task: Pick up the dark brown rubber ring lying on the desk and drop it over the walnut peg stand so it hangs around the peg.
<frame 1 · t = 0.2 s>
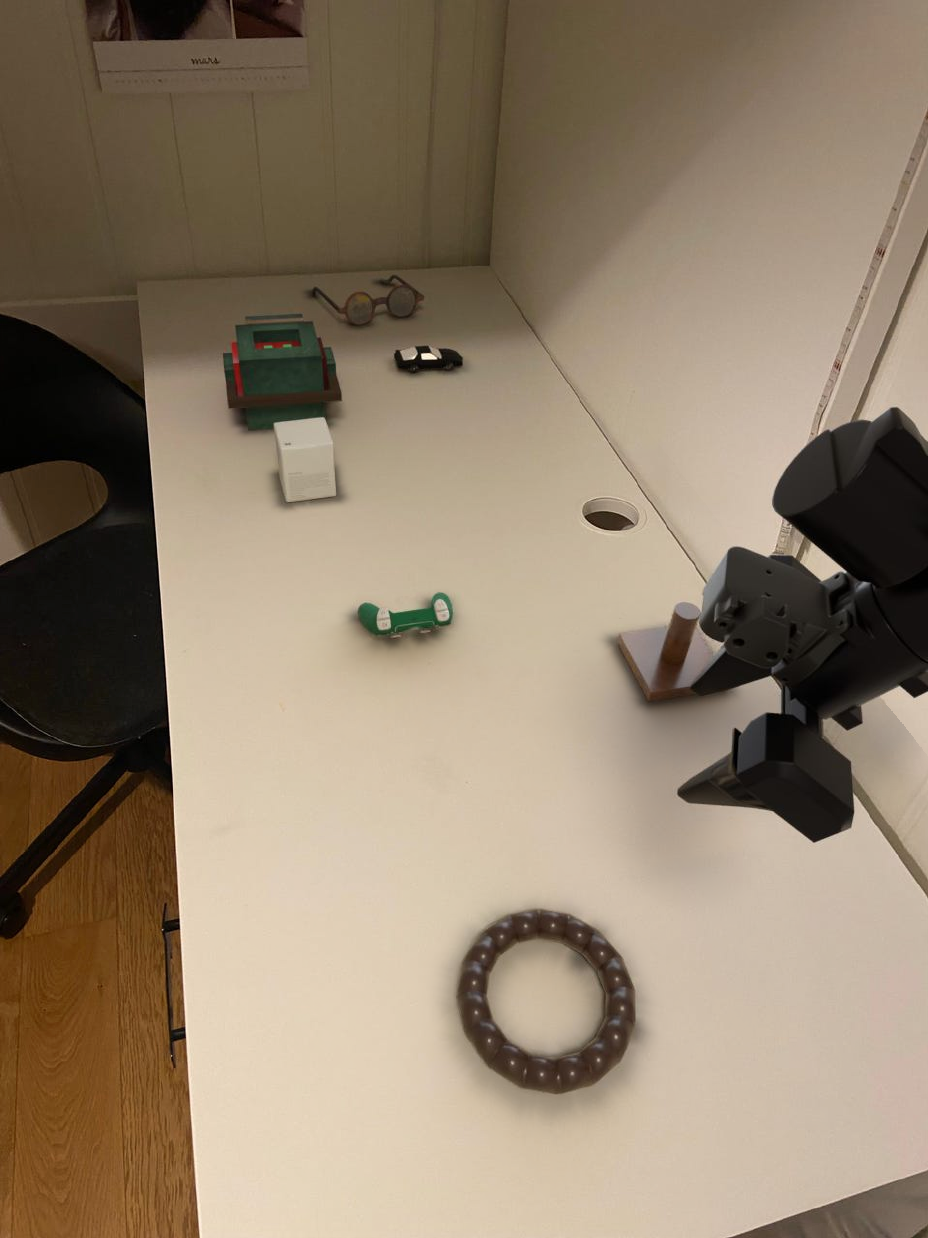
hand: (688, 740, 54), 16 cm above the table, tool tilted 30°, fingers open, 9 cm apart
peg stand: (670, 664, 82), on the table
eyeglasses: (364, 304, 139), on the table
toy car: (429, 367, 124), on the table
product box: (307, 487, 100), on the table
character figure: (282, 397, 115), on the table
ring: (546, 995, 57), point 1 cm above the table
gaming controller: (407, 628, 84), on the table
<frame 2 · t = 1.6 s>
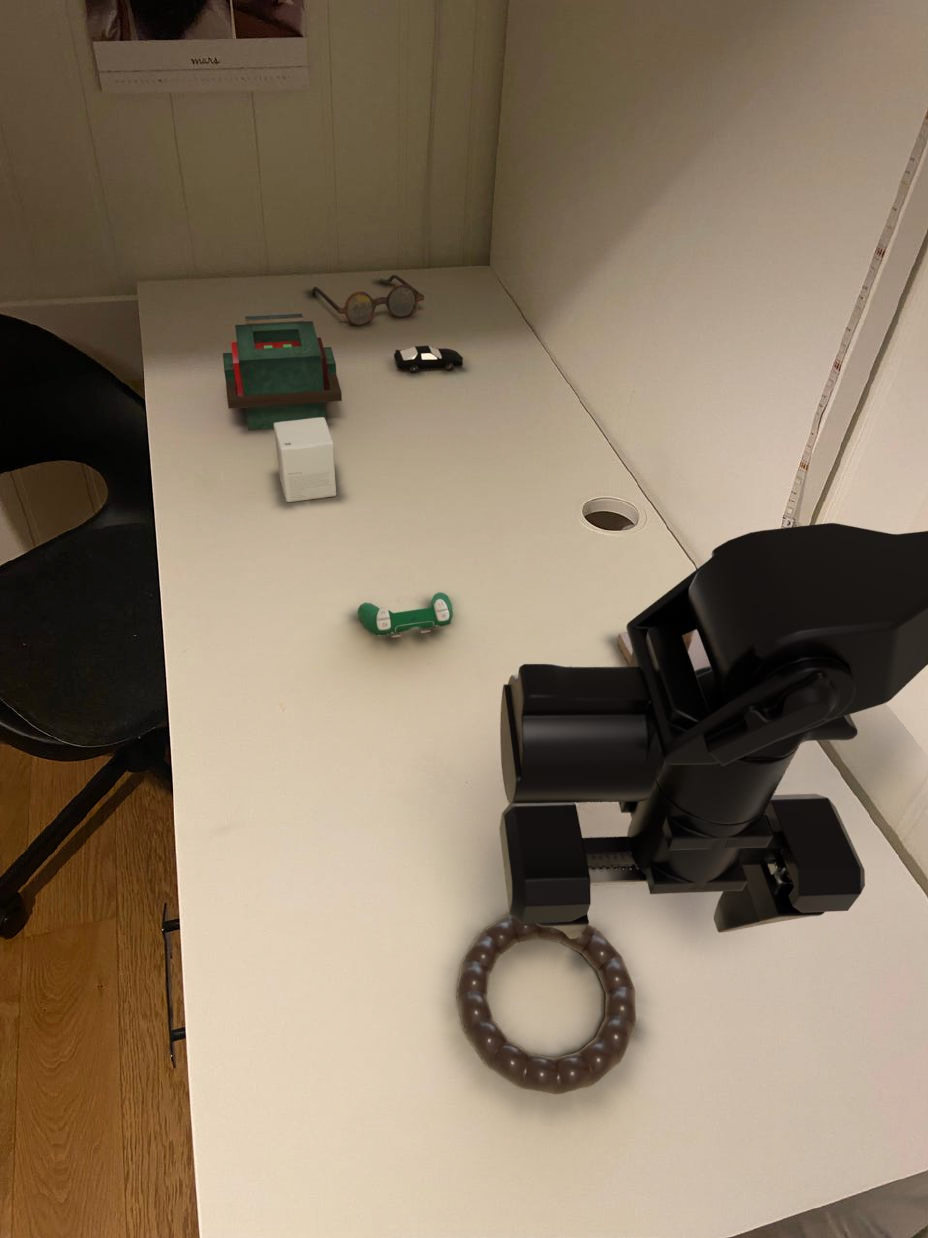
hand: (645, 927, 51), 10 cm above the table, tool pointing down, fingers open, 9 cm apart
nothing on the table moved.
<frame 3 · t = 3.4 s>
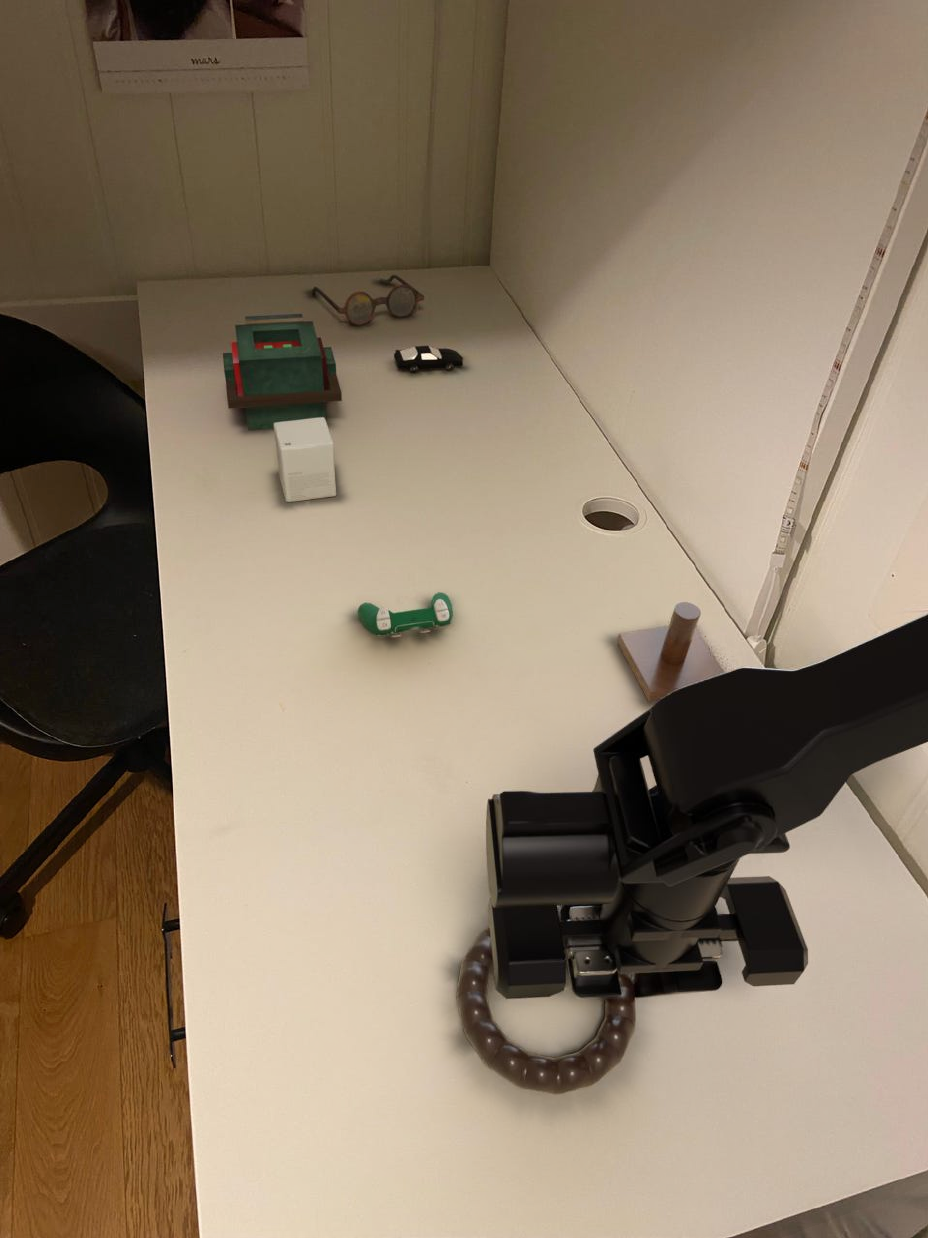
hand: (619, 991, 57), 1 cm above the table, tool pointing down, fingers closed on ring, 2 cm apart
ring: (546, 995, 57), point 1 cm above the table, touching gripper
everything else where it was.
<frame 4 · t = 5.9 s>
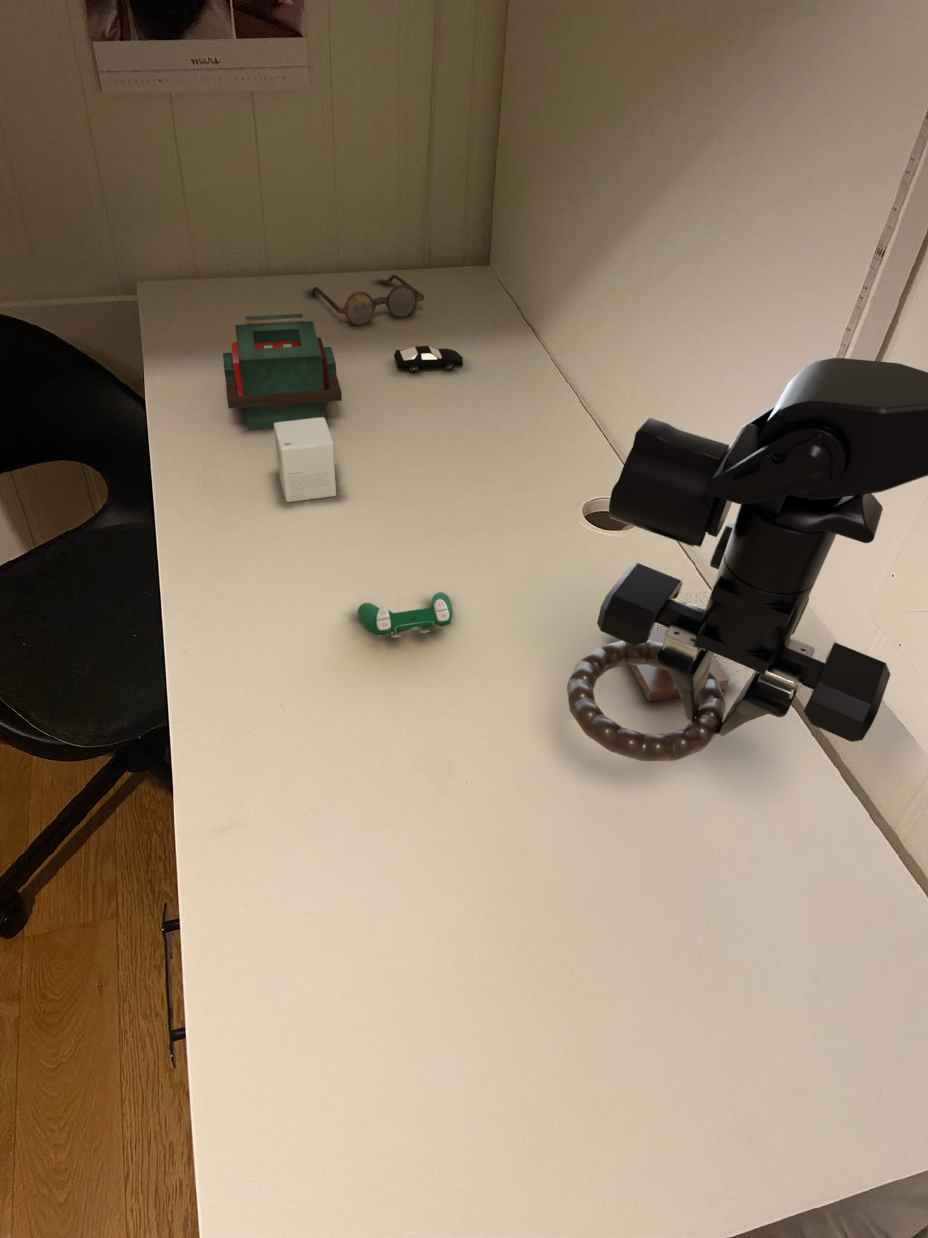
hand: (707, 724, 63), 10 cm above the table, tool pointing down, fingers closed on ring
ring: (645, 697, 65), point 10 cm above the table, touching gripper
everything else where it was.
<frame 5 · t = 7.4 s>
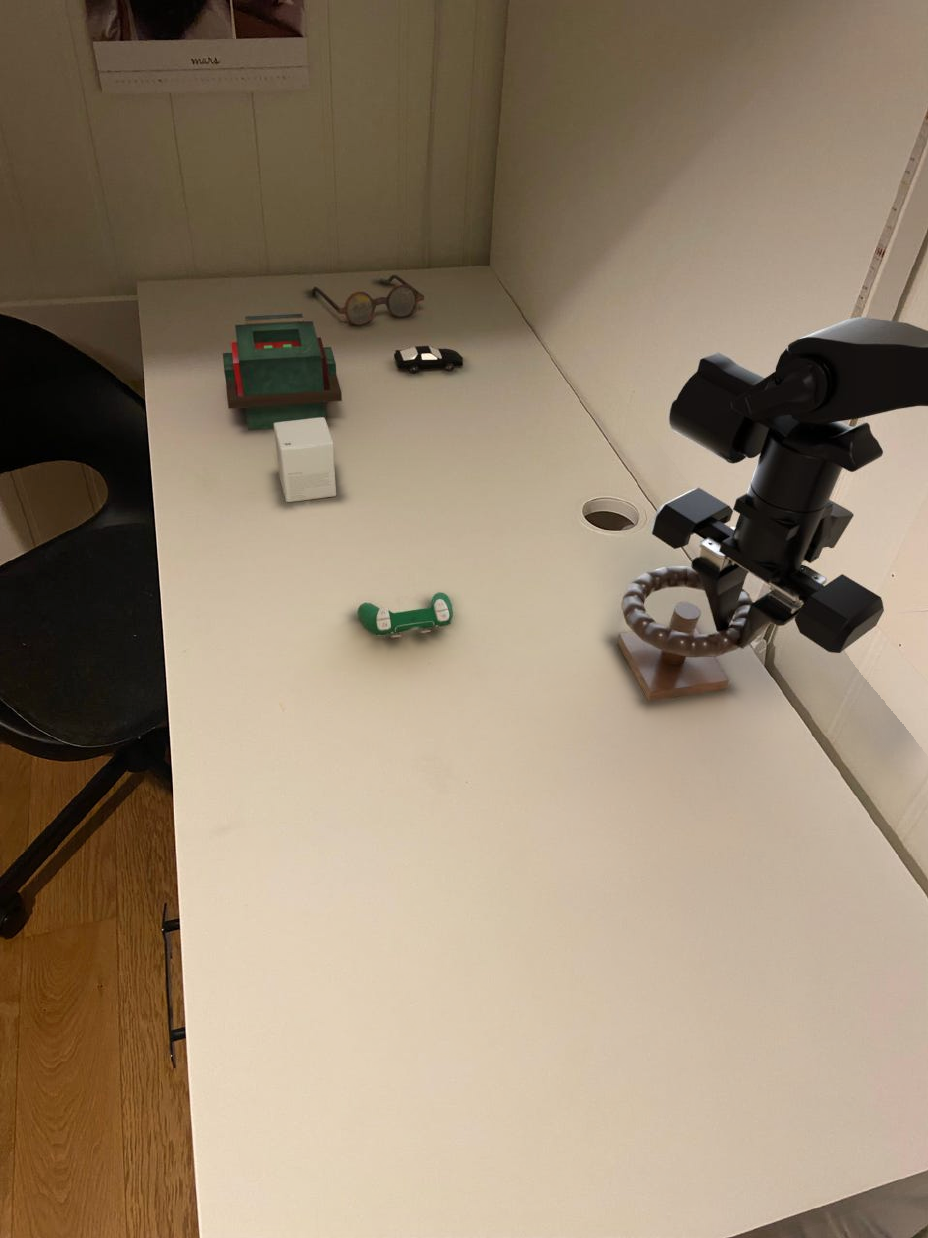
hand: (732, 638, 74), 8 cm above the table, tool pointing down, fingers closed on ring
ring: (688, 609, 77), point 7 cm above the table, tilted 5°, touching gripper
everything else where it was.
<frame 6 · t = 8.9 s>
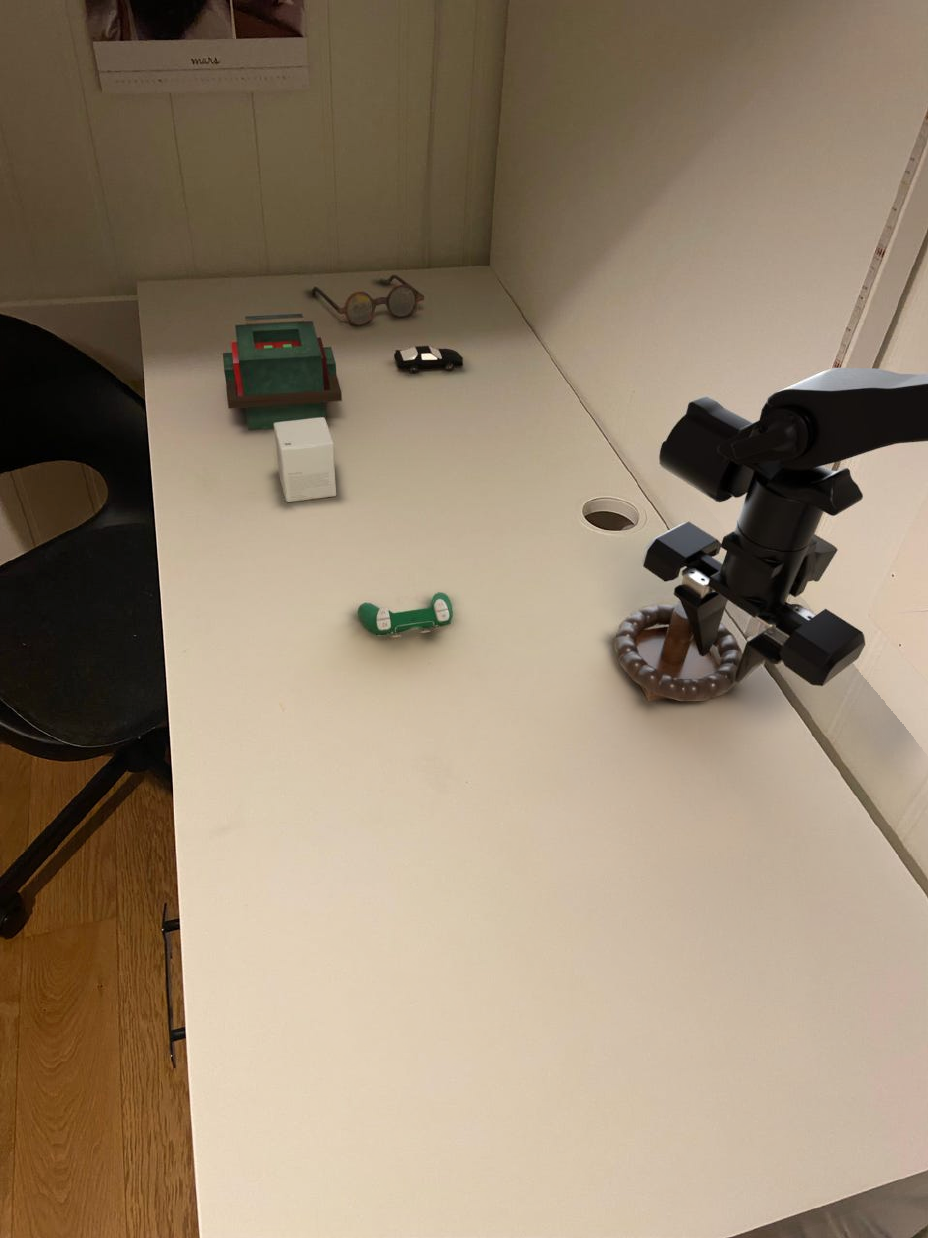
hand: (721, 666, 76), 4 cm above the table, tool pointing down, fingers open, 4 cm apart
ring: (678, 650, 80), point 2 cm above the table, touching peg stand
everything else where it was.
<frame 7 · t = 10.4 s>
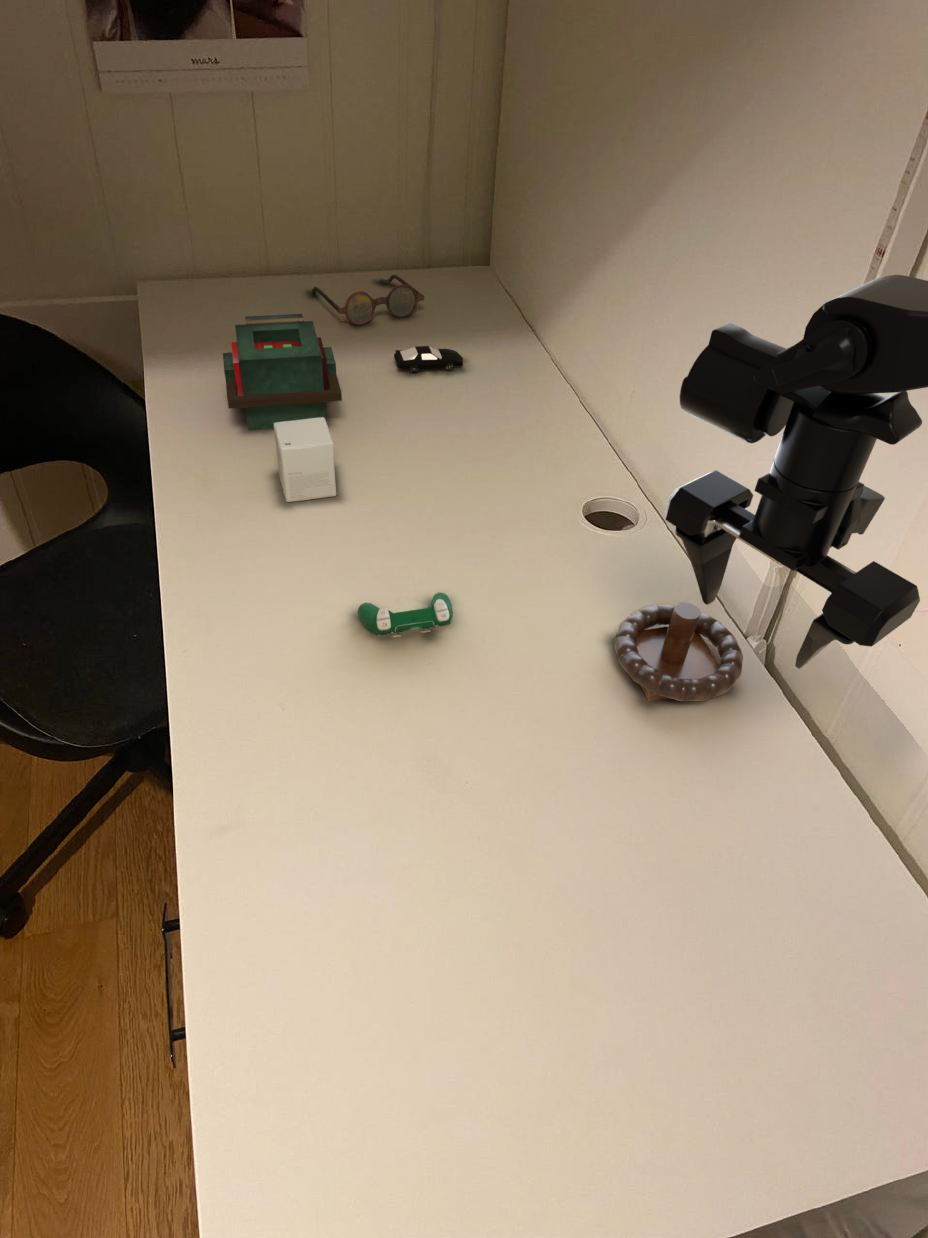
hand: (753, 632, 68), 12 cm above the table, tool pointing down, fingers open, 9 cm apart
nothing on the table moved.
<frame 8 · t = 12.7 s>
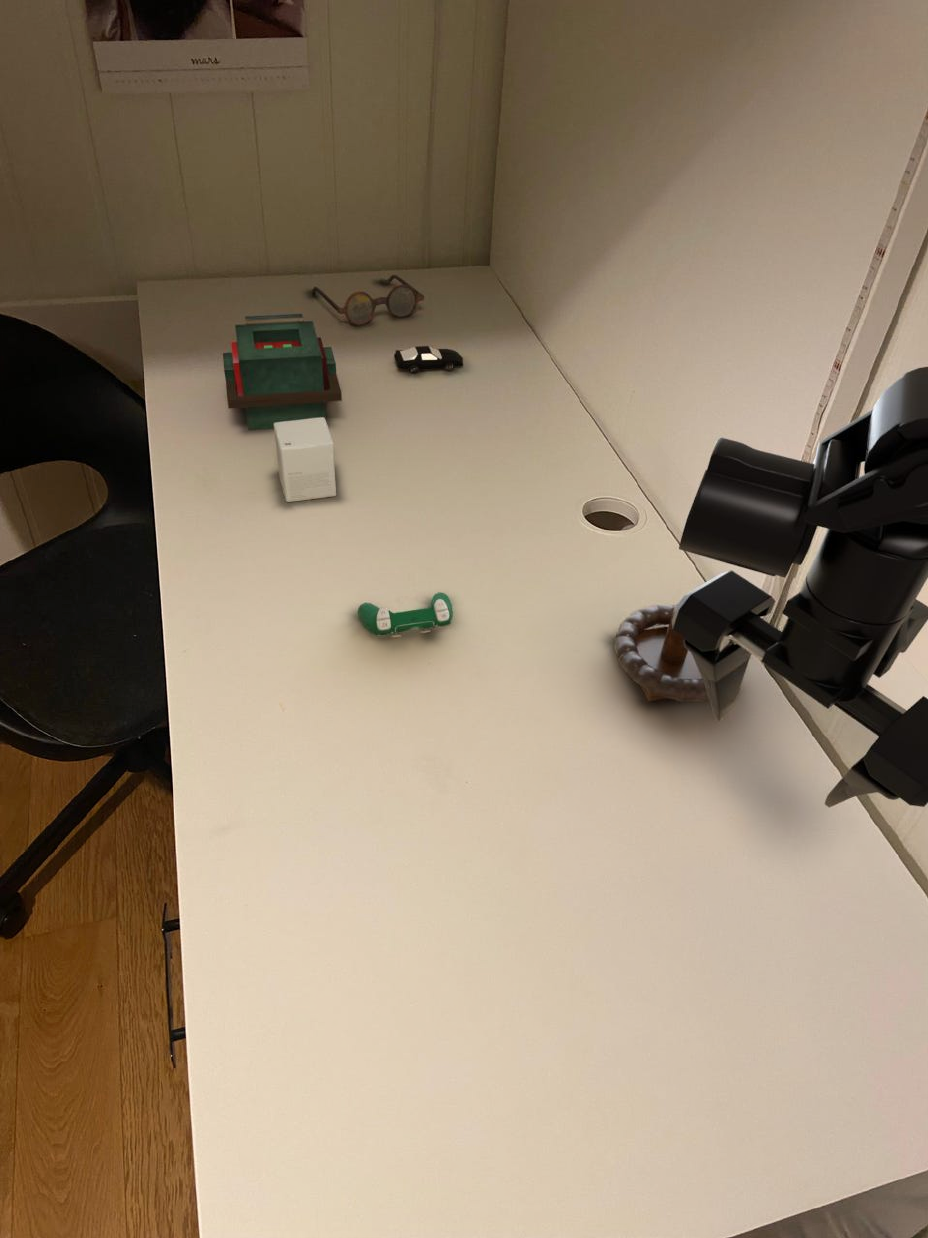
hand: (773, 758, 59), 12 cm above the table, tool pointing down, fingers open, 9 cm apart
nothing on the table moved.
at the end: ring 0.3 cm from the peg stand (horizontally); ring point 2.2 cm above the table; the gripper is holding nothing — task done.
